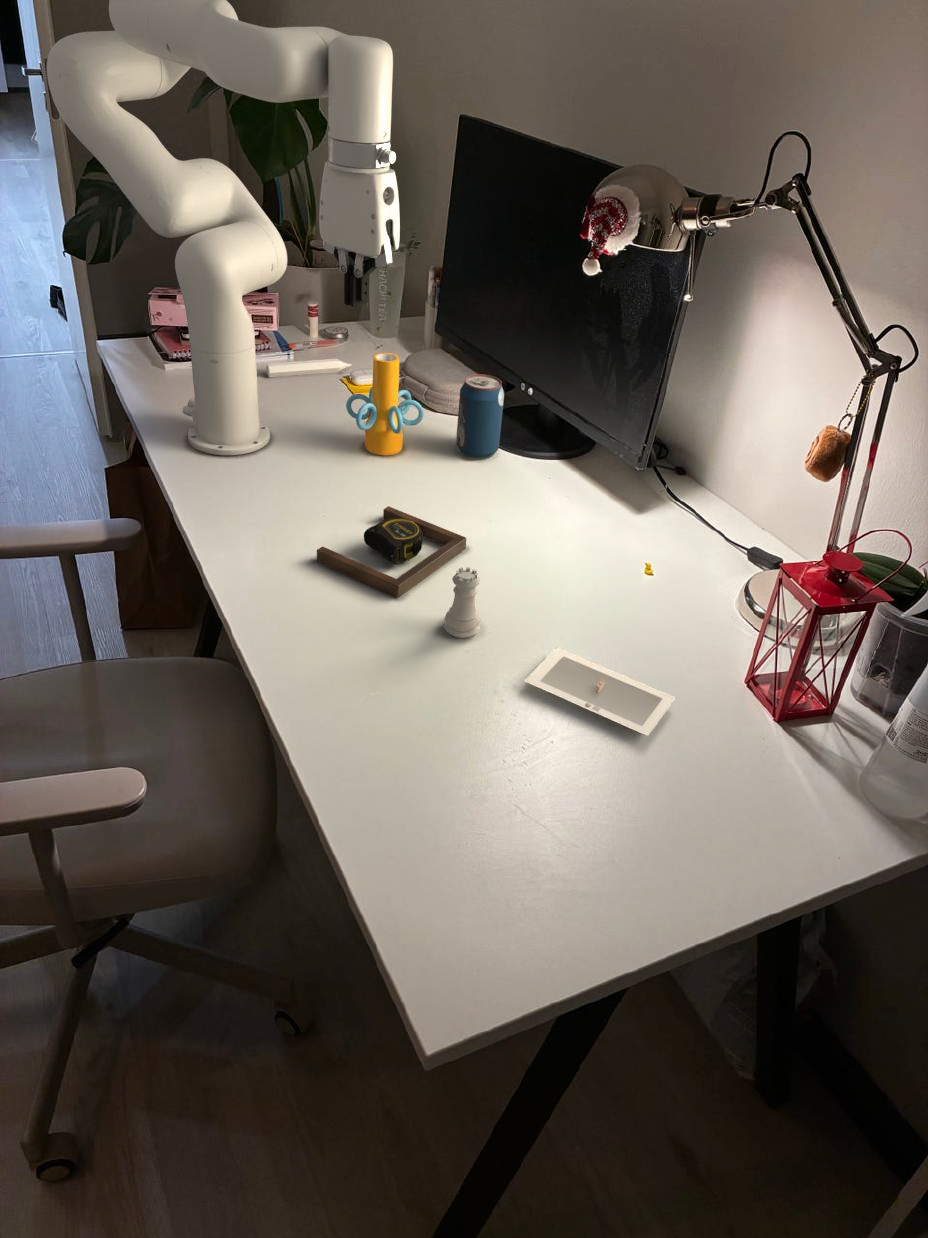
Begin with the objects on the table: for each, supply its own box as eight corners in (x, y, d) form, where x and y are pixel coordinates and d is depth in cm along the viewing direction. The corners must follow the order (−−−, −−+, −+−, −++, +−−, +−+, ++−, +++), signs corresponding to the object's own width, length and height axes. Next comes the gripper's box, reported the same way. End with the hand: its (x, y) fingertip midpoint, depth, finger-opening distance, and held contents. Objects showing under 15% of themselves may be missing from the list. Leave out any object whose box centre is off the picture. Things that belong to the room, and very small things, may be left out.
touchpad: (555, 654, 114) (557, 639, 112) (674, 705, 108) (677, 690, 106) (522, 688, 108) (524, 673, 107) (646, 743, 102) (649, 728, 101)
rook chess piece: (485, 623, 118) (491, 568, 113) (473, 643, 114) (479, 587, 109) (450, 614, 119) (455, 559, 114) (437, 634, 115) (442, 577, 110)
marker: (353, 373, 181) (268, 379, 175) (350, 364, 182) (265, 370, 176) (355, 364, 179) (269, 370, 173) (352, 355, 180) (267, 360, 174)
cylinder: (425, 438, 159) (430, 349, 150) (416, 466, 150) (421, 374, 142) (352, 430, 159) (353, 341, 151) (339, 457, 151) (339, 364, 142)
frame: (316, 561, 126) (316, 549, 125) (388, 517, 137) (388, 506, 136) (397, 598, 121) (398, 586, 120) (465, 548, 131) (466, 537, 130)
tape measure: (361, 548, 129) (361, 524, 127) (402, 534, 133) (403, 510, 131) (390, 572, 125) (391, 547, 123) (432, 556, 129) (434, 532, 127)
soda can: (506, 451, 157) (513, 380, 150) (483, 465, 152) (490, 393, 145) (470, 438, 160) (476, 368, 153) (447, 452, 155) (452, 381, 148)
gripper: (426, 161, 118) (418, 311, 128) (332, 140, 124) (332, 284, 135) (388, 169, 113) (383, 324, 123) (292, 146, 119) (295, 296, 129)
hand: (356, 303), depth 129 cm, fingers closed
